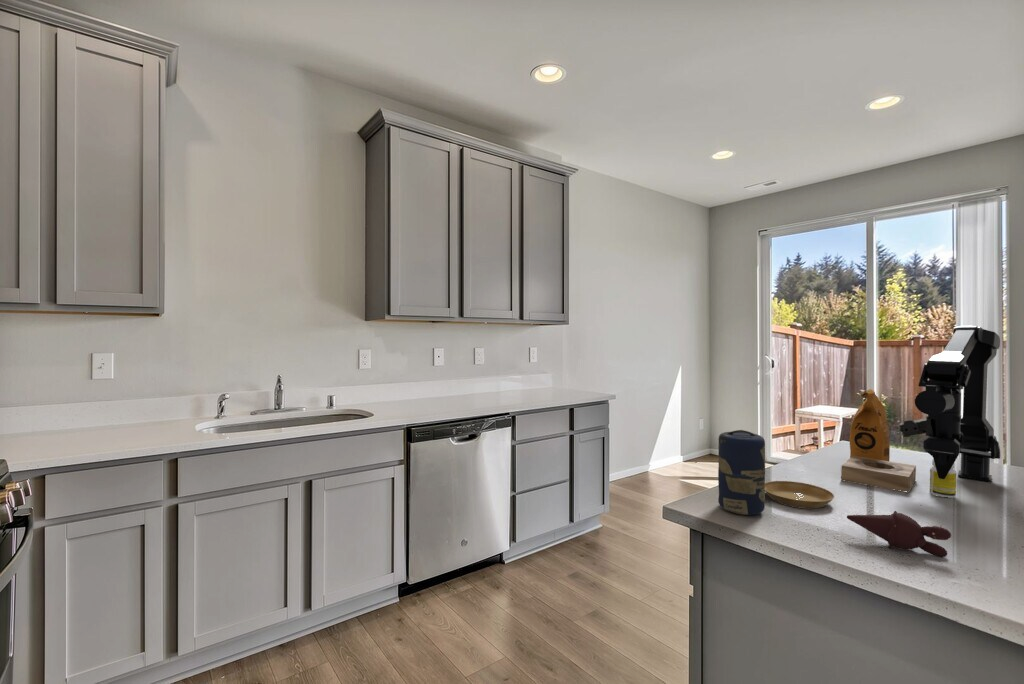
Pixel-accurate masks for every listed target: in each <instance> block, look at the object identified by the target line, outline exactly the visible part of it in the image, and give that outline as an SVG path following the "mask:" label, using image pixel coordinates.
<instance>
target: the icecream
mask: <svg viewBox="0 0 1024 684" xmlns="http://www.w3.org/2000/svg"><path fill="white" fill-rule="evenodd" d="M846 519H848V520H849V521H851V522H853V523H855V525H858V526H860V528H861V527H862V528H863V529H865V530H867V531H868V532H870V533H872V534H873V535H875V536H877V537H878V538H880V539H882V540H884V541H885V542H887V544H888V548H889V549H892V548H895V549H898V550H899V549H900V550H903V551H907V550H908V551H909V550H914V549H917V548H919V549H921V550H922V551H924V552H926V553H927V554H930V555H932V556H933V557H940V558H945V557H946V558H947V555H948V552H947V550H946V549H945V547H943V546H942V545H939V544H938V543H935V542H932V541H930V540H929V541H928V540H927V539H926V538H925V537H927V538H931V539H932V540H938V541H948V540H950V538H952V533H951V532H950V530H948V529H947V528H945V527H941V526H936V525H933V526H928V525H927V526H921V525H920V524H919V522H917V521H916V519H913V518H912V517H911V516H908V515H906V514H904V513H901V512H898V511H896V510H894V511H893V513H891V514H865V515H864V514H849V515H848V514H847V515H846Z"/></svg>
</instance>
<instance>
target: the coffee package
mask: <svg viewBox="0 0 1024 684" xmlns="http://www.w3.org/2000/svg"><path fill="white" fill-rule="evenodd" d="M860 396H861V398H864V399H865V400H864V402H863V403H862V404H861V405H860V406H859V407H858V409H857V410H856V412H855V414H854V416H853V418H852V421H851V423H850V424H851V425H850V429H849V450H850V456H849V459H850V458H851V457H852V456H858V457H864V458H871V459H877V460H884V461H890V456H891V455H890V454H891V453H890V452H891V451H890V449H891V447H890V446H891V445H890V432H889V430H890V429H889V423H888V419H887V411H886V409H885V406H884V404H883V402H882V401H881V400H880V398H879V397H878V395H877V394H876V391H875V390H873V389H872V388H869V389H867V390H866V391H864V392H863V393H861V395H860Z"/></svg>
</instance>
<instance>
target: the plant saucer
mask: <svg viewBox="0 0 1024 684" xmlns="http://www.w3.org/2000/svg"><path fill="white" fill-rule="evenodd" d="M794 493H795V494H794ZM796 493H801V494H803V495H802V496H800V497H803V496H804V497H803V498H800V497H799V496H798V495H797V494H796ZM765 494H767V495H768V496H769V497H770V498H771V500H774V501H775V502H777V503H779V504H781V505H785V506H788V507H792V506H793V508H798V507H800V508H799V509H808V508H809V509H811V510H812V509H813V508H814V509H819V508H820V509H821V508H823V507H825V506H826V505H828V504H830V503H831V502H832V501H833V500H834V499H835V494H834V493H833V492H832V491H830V490H828V489H826V488H823V487H822V486H819V485H818V486H817V485H814V484H811V483H805V482H801V481H800V482H799V481H791V480H773V481H767V482H766V481H765ZM801 494H799V495H801ZM796 497H797V498H796ZM799 498H800V499H799ZM796 499H798V500H796Z"/></svg>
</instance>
